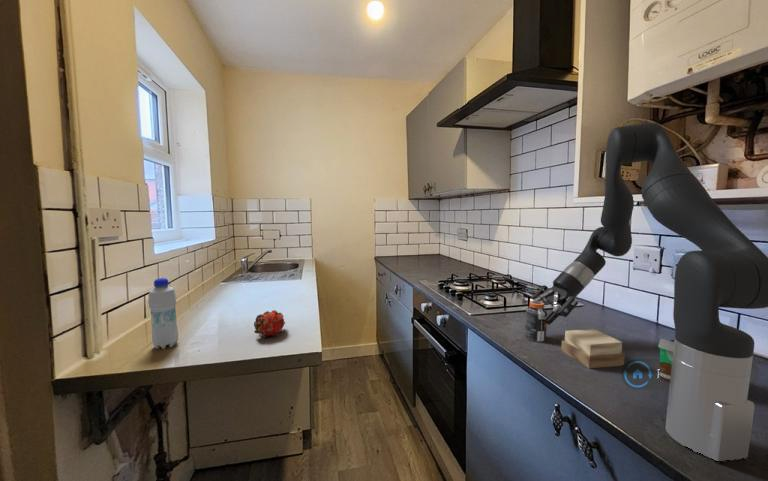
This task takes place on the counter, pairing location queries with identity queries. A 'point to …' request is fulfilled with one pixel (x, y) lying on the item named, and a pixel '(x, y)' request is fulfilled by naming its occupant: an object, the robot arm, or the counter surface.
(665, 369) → the food container
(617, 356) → the tower base
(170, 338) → the bottle
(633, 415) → the counter surface
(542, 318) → the pill bottle
